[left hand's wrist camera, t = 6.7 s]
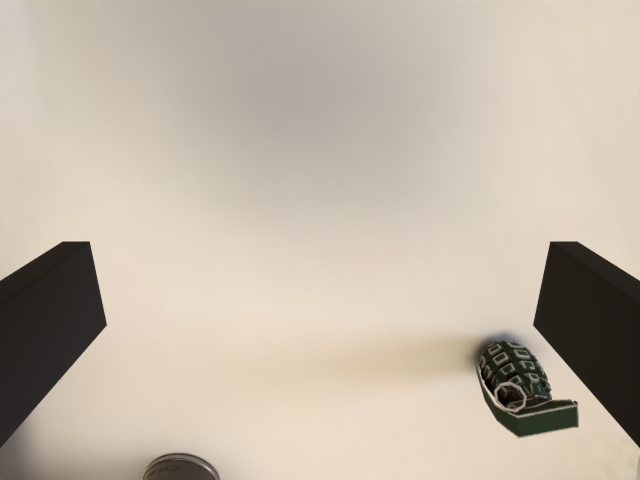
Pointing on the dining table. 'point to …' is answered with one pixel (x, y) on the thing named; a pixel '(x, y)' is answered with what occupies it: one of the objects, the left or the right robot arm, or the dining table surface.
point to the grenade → (522, 392)
